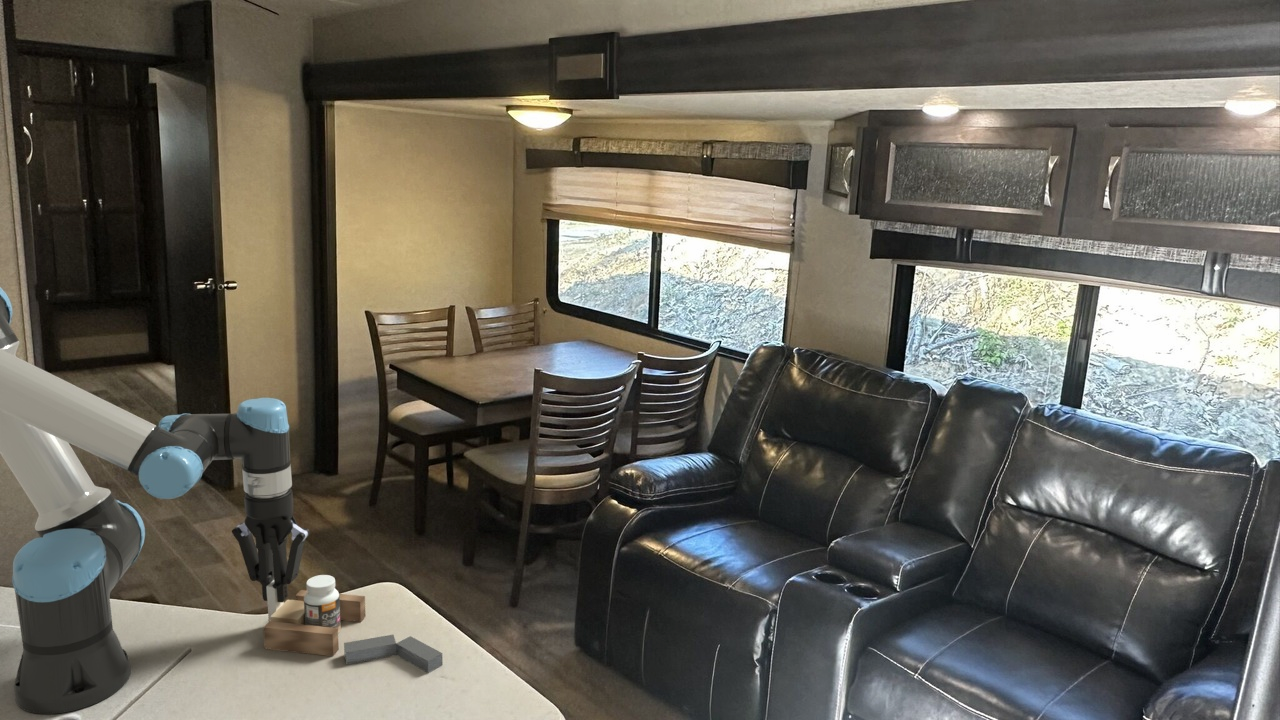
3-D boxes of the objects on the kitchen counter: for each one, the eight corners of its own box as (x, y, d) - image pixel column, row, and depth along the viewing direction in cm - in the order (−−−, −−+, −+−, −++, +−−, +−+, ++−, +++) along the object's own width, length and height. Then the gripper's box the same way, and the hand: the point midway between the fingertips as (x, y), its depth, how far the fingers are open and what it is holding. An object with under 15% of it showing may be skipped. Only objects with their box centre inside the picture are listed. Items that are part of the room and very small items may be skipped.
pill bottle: (329, 644, 153) (327, 591, 151) (299, 639, 154) (296, 586, 152) (347, 627, 159) (344, 575, 156) (317, 622, 160) (314, 571, 158)
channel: (264, 648, 151) (263, 627, 150) (301, 610, 164) (300, 589, 163) (333, 656, 150) (332, 634, 149) (365, 616, 163) (364, 596, 162)
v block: (337, 663, 148) (337, 651, 148) (354, 641, 154) (354, 630, 154) (437, 674, 146) (437, 661, 146) (450, 651, 153) (450, 640, 152)
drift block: (271, 637, 155) (270, 616, 154) (288, 619, 160) (287, 599, 159) (299, 640, 154) (298, 619, 153) (315, 622, 160) (314, 602, 159)
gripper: (218, 495, 149) (229, 624, 154) (294, 501, 147) (302, 632, 153) (243, 479, 156) (252, 603, 162) (315, 484, 155) (322, 609, 160)
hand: (276, 617), depth 157 cm, fingers closed
